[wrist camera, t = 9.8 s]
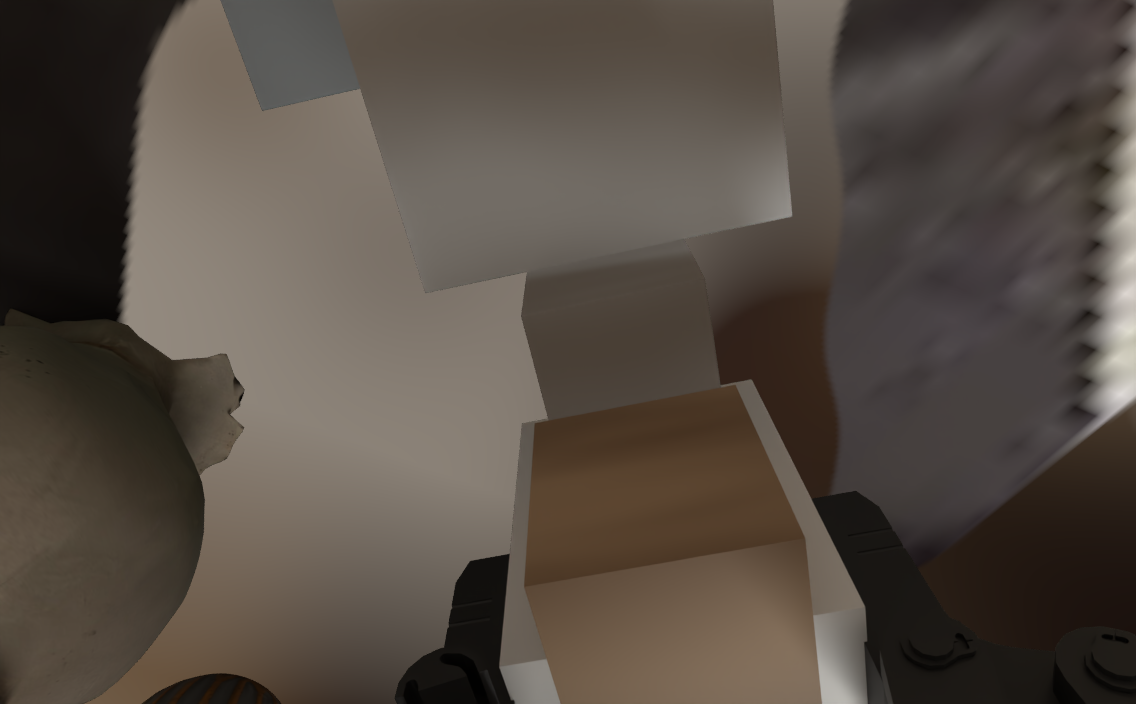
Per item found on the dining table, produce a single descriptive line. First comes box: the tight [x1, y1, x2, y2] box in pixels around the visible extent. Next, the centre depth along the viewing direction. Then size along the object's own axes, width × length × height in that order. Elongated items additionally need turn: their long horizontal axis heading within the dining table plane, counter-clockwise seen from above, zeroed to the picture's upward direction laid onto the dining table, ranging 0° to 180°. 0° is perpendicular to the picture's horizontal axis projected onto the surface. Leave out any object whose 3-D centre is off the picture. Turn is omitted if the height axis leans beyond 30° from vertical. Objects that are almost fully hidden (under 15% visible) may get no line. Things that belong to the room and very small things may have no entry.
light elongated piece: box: [332, 0, 822, 704], centre depth 13 cm, size 19×7×7 cm, turn 12°
